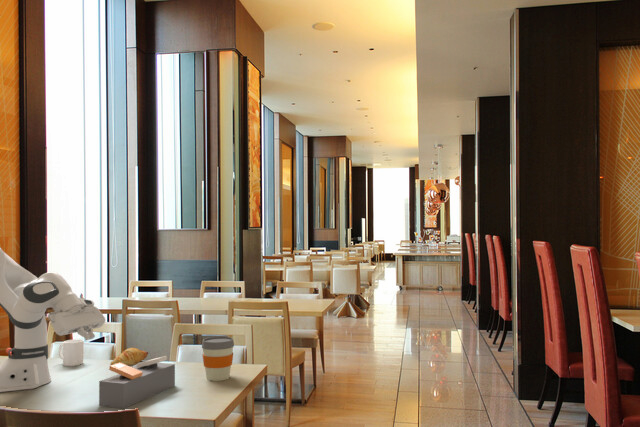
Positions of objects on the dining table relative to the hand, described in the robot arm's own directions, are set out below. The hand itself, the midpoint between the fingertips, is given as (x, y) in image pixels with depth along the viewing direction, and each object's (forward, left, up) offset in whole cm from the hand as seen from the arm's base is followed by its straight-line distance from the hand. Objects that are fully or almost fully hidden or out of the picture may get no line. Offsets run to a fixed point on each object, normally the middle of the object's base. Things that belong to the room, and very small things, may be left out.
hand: (90, 338), depth 186 cm
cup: (+3, +60, -21) cm, 63 cm away
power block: (+15, -7, -20) cm, 26 cm away
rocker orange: (+9, -11, -10) cm, 18 cm away
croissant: (+25, +45, -21) cm, 56 cm away
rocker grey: (+20, -3, -10) cm, 23 cm away
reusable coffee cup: (+47, -2, -21) cm, 51 cm away
